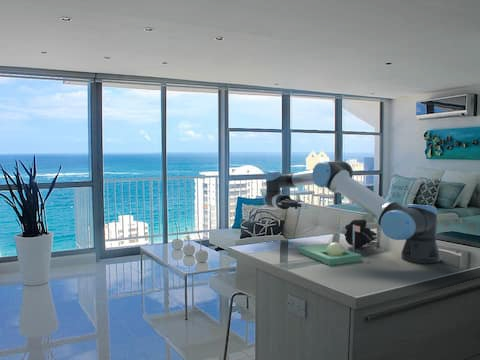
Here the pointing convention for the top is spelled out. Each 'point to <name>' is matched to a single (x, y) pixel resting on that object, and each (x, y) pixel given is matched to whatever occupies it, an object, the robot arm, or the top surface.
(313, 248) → the green
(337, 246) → the ball
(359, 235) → the figurine
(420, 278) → the top surface
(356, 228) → the flagpost
